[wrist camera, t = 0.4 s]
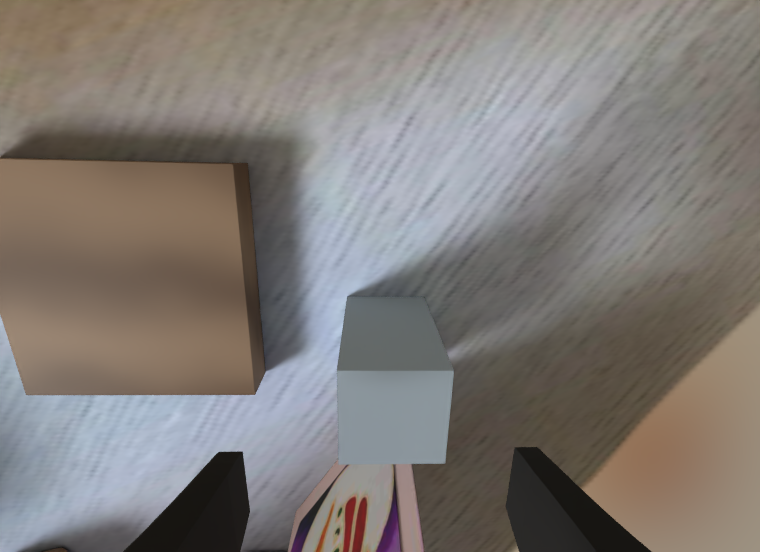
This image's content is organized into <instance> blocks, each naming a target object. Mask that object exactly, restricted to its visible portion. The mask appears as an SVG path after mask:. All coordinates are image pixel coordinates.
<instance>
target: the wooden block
mask: <svg viewBox="0 0 760 552" xmlns="http://www.w3.org/2000/svg"><path fill="white" fill-rule="evenodd" d="M42 552H68V551H67V550H66V549H64V548H55V549H51V550H46V551H42Z"/></svg>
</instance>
